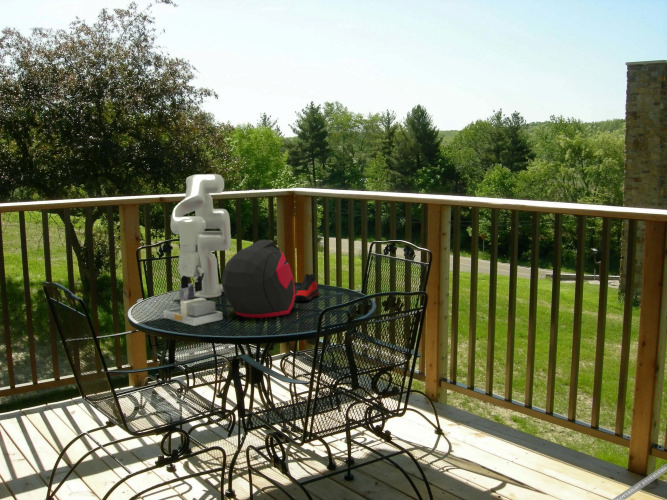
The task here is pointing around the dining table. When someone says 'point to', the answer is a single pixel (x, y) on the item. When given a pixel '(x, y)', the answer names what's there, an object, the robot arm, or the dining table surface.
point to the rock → (186, 293)
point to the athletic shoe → (307, 289)
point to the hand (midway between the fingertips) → (191, 289)
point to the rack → (195, 314)
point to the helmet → (259, 281)
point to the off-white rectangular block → (186, 305)
